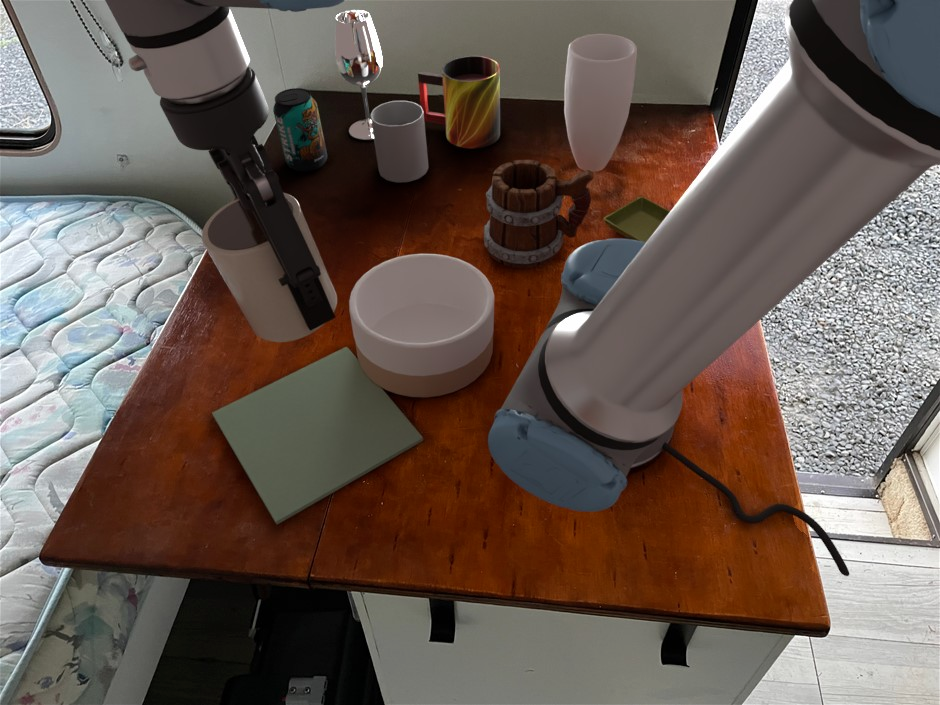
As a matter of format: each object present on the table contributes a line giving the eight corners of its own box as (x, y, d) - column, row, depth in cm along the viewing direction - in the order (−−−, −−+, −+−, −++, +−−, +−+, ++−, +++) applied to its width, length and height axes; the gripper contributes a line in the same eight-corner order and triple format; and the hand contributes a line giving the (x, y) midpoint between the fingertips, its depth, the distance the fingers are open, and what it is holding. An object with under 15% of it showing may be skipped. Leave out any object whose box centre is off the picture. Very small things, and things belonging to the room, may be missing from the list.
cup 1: (421, 184, 116) (415, 128, 109) (372, 180, 117) (364, 124, 110) (433, 157, 122) (428, 102, 114) (387, 153, 123) (379, 99, 116)
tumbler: (239, 305, 73) (318, 266, 75) (265, 356, 67) (351, 313, 69) (190, 218, 64) (280, 178, 67) (215, 268, 59) (314, 223, 61)
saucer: (645, 256, 101) (647, 245, 99) (600, 229, 106) (602, 218, 104) (685, 232, 105) (687, 220, 103) (639, 206, 109) (641, 195, 108)
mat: (423, 440, 80) (423, 437, 79) (276, 525, 73) (275, 522, 72) (347, 349, 90) (346, 346, 90) (212, 415, 83) (211, 412, 83)
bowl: (517, 330, 92) (520, 280, 86) (447, 419, 81) (444, 368, 75) (407, 287, 98) (402, 237, 92) (328, 364, 87) (318, 314, 81)
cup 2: (626, 197, 111) (645, 62, 96) (559, 199, 112) (568, 64, 96) (617, 162, 118) (635, 30, 103) (555, 163, 119) (562, 32, 103)
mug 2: (482, 217, 108) (498, 129, 97) (573, 236, 108) (600, 150, 97) (471, 266, 100) (487, 176, 89) (570, 286, 100) (598, 198, 89)
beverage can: (332, 168, 120) (319, 101, 112) (291, 177, 119) (275, 110, 110) (322, 148, 125) (309, 82, 116) (283, 157, 123) (266, 91, 115)
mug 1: (422, 124, 130) (416, 59, 121) (497, 119, 130) (496, 53, 121) (423, 151, 123) (417, 85, 114) (503, 146, 123) (502, 79, 115)
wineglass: (399, 125, 130) (386, 12, 115) (373, 145, 125) (356, 29, 111) (366, 115, 133) (348, 4, 118) (339, 134, 128) (318, 20, 114)
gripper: (128, 55, 60) (235, 257, 76) (195, 158, 46) (308, 379, 62) (211, 23, 62) (298, 227, 78) (299, 113, 48) (383, 339, 64)
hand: (303, 294), depth 70 cm, fingers closed on tumbler, 9 cm apart
